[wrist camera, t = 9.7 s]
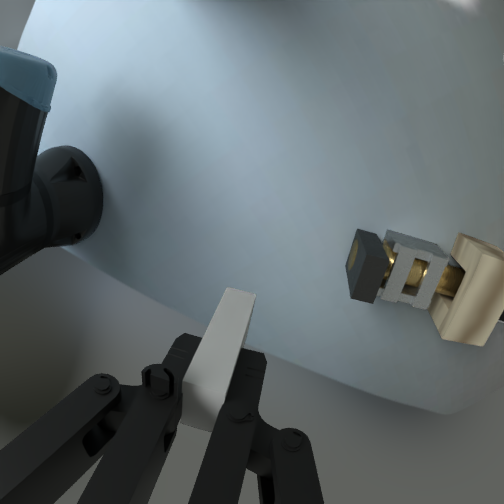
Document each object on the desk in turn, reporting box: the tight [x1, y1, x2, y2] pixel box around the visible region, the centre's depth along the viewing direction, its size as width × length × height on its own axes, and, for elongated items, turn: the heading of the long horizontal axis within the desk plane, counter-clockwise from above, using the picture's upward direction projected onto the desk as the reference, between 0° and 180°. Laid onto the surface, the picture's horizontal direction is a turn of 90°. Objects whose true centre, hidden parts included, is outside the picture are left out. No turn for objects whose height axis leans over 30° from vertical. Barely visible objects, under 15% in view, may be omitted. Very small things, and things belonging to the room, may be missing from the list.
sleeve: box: [376, 229, 449, 310], centre depth 33 cm, size 7×6×5 cm
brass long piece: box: [345, 229, 466, 304], centre depth 31 cm, size 18×5×8 cm, turn 79°
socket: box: [427, 232, 504, 346], centre depth 31 cm, size 7×11×7 cm, turn 169°
